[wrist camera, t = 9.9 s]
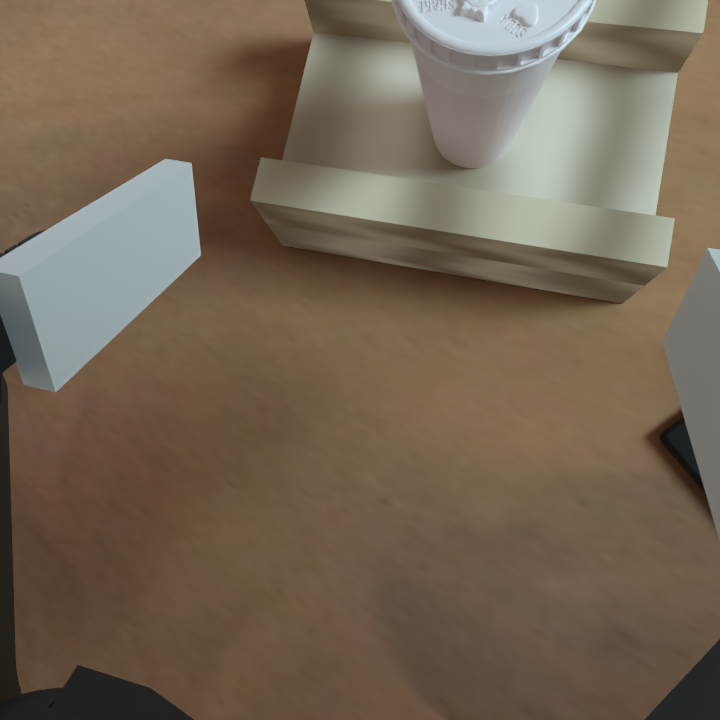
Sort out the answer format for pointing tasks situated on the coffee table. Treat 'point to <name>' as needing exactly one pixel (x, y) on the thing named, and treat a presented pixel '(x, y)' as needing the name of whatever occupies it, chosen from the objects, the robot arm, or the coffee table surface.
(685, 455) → the handheld gaming console
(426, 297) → the coffee table surface
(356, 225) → the tray
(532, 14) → the smoothie
